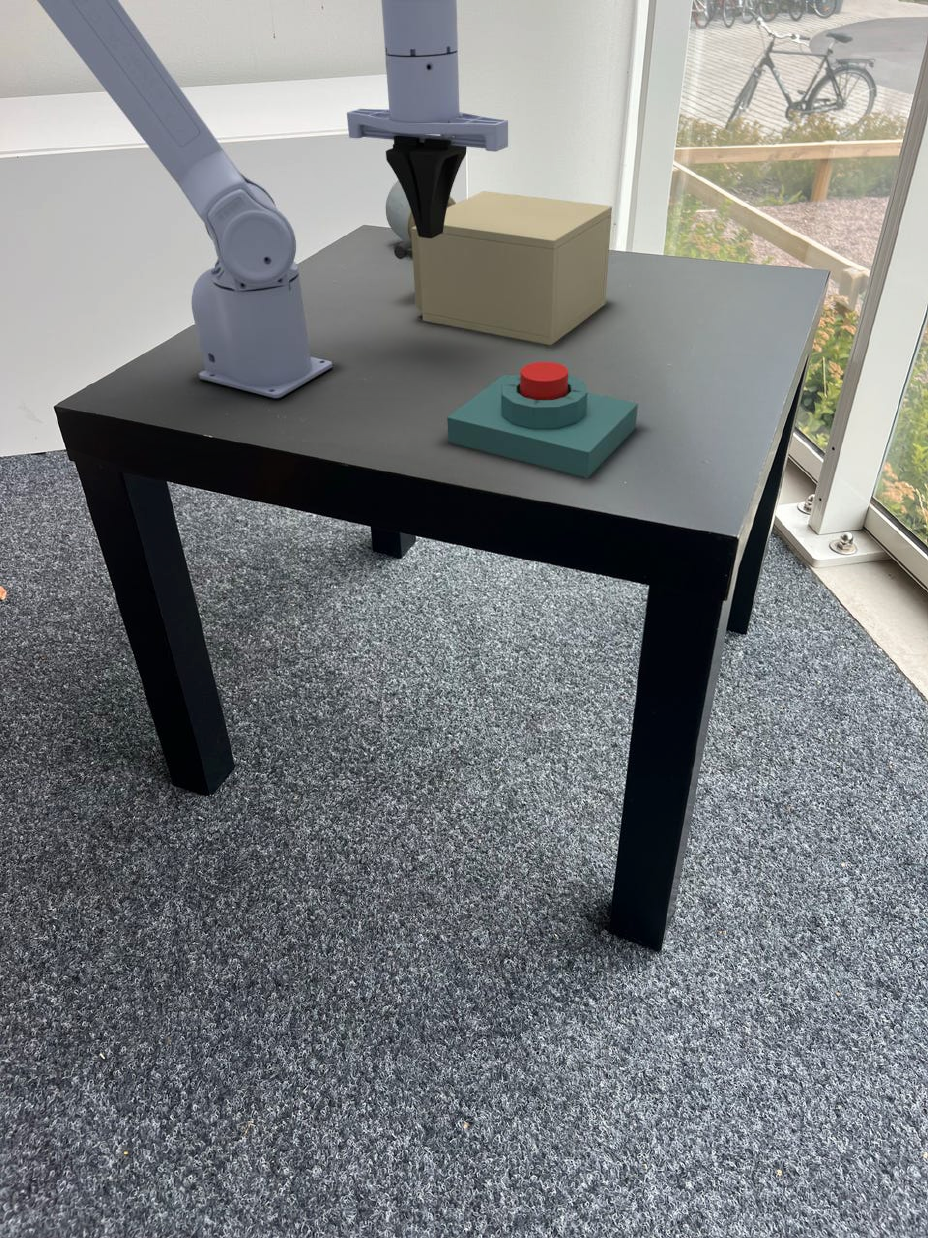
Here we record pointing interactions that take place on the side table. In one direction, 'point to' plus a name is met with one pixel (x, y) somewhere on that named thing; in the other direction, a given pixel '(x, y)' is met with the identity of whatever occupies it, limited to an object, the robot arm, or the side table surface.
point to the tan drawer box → (516, 266)
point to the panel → (544, 426)
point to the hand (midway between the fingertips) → (430, 234)
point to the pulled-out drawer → (412, 249)
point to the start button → (544, 381)
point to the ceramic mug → (401, 212)
